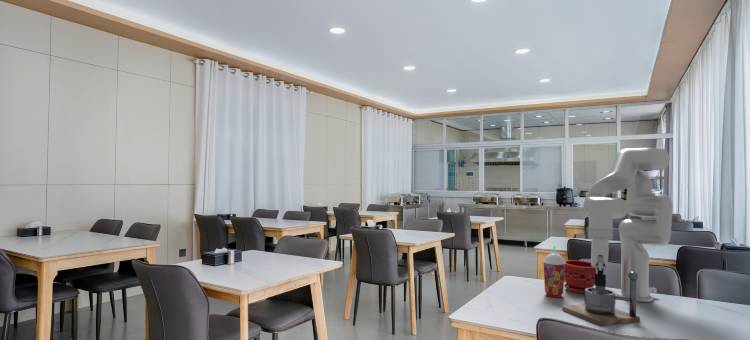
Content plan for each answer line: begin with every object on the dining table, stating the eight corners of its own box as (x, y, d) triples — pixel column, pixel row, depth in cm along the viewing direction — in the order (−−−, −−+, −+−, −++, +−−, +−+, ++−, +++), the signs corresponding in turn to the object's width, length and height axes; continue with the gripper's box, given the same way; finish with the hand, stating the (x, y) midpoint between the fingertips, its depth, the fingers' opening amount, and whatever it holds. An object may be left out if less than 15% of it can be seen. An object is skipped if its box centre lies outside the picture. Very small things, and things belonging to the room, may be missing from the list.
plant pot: (559, 291, 181) (559, 263, 181) (567, 285, 192) (567, 258, 192) (593, 297, 173) (594, 267, 173) (600, 290, 184) (600, 262, 184)
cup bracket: (599, 306, 161) (599, 262, 161) (640, 321, 145) (640, 272, 145) (562, 310, 156) (562, 264, 156) (600, 326, 140) (600, 274, 140)
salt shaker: (593, 303, 148) (594, 268, 149) (588, 299, 154) (589, 265, 154) (612, 305, 147) (612, 269, 147) (606, 300, 153) (607, 266, 153)
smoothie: (566, 295, 176) (567, 246, 176) (563, 299, 169) (563, 248, 169) (545, 291, 180) (545, 243, 181) (540, 296, 173) (541, 246, 174)
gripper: (588, 230, 160) (588, 276, 160) (588, 235, 145) (587, 287, 144) (611, 231, 157) (611, 279, 156) (613, 237, 141) (613, 290, 141)
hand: (600, 282), depth 150 cm, fingers open, 9 cm apart
